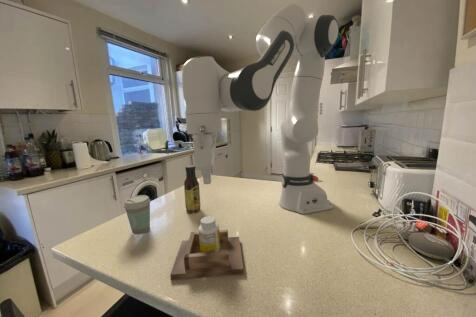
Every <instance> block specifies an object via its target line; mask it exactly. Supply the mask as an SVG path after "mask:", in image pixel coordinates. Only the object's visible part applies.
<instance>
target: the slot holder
mask: <svg viewBox="0 0 476 317" xmlns="http://www.w3.org/2000/svg"><path fill="white" fill-rule="evenodd" d="M219 239H220V252H208V253H201V252H200V242H199V231H192V232H190V234H189V238H188V240H181V242H180V245H179V248H178V252H177V255H176V258H175V259H174V263H173V266H172V269H171V271H170V274H169V275H170V276H169V277H170V281H175V280H186V279H187V280H188V279H199V278H209V277H210V278H211V277H222V276H235V275H236V276H237V275H244V265H243V264H244V263H243V257H242V249H241V241H240V240H241V239H240V236H230V237H229V230H228V229H219Z"/></svg>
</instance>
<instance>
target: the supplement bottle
mask: <svg viewBox="0 0 476 317" xmlns="http://www.w3.org/2000/svg"><path fill="white" fill-rule="evenodd" d="M219 230H220V227H219V225H218V224H217V222H216V218H215V217H214V216H209V215H208V216H204V217H202V218H201V219H200V225H199V226H198V231H197V232H199V242H200V252H201V253H208V252H220V239H219Z"/></svg>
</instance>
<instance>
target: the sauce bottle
mask: <svg viewBox="0 0 476 317" xmlns="http://www.w3.org/2000/svg"><path fill="white" fill-rule="evenodd" d="M184 170H185V174H186V175H185V177H186V178H185V179H184V182H183V185H184V188H183V190H184V201H185V202H184V203H185V209H186V210H185V211H186V213H187V214H190V215H191V214H198V213H199V212H200V211H201V193H200V183H199V181H198V178H197V175H196V166H195V165H193V164H191V165H186V166H185V168H184Z"/></svg>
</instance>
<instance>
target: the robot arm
mask: <svg viewBox="0 0 476 317" xmlns="http://www.w3.org/2000/svg"><path fill="white" fill-rule="evenodd" d="M338 37H339V22H338V20H337V19H336V17H335V15H332V14H321V15H320V16H313V17H307V15H306V13H305V11H304V9H303V8H302V7H301V6H300V5H299V4H296V3H290V4H287V5H285V6H283V7H281V8H280V9H278V10H277V11H276V12H275V13H274V14H273V15H272V16H271V17H270V18H269V19H268V20H267V21H266V22H265V23H264V24H263V26H261V28H260V30H259V31H258V33H257V35H256V38H255V46H256V50H257V52H258V54H259V56H260V58H259V59H258V60H257V61H256V62H254V63H250V64H249V65H245V66H244V67H242V68H240V69H238V70H236V71H233V72H229V71H227V70H226V69H224V68H223V67H222V66H221V65H219V64H218V63H217V62H216V60H215V58H214V57H213V56H210V55H198V56H196V57H191V58H190V59H188V60H187V61H186V62H184V64H183V66H182V71H181V72H182V73H181V74H182V75H181V80H182V83H181V84H182V85H181V86H182V95H183V96H182V97H183V99H184V101H185V112H184V113H185V114H184V115H185V116H184V117H185V122H186V123H185V124H186V132H187V134H189V135H192V140H193V152H194V153H193V154H194V166H195V170H198V171H200V172H201V176H202V179H203V180H202V181H203V184H204V185H210V184H211V183H212V174H213V173H214V160H215V158H216V157H215V156H216V152H217V139H218V137H219V135H218V133H221V132H222V131H223V127H222V126H223V125H222V112H226V113H227V112H228V113H230V112H241V111H242V112H243V111H250V112H251V111H252V112H256V111H260V110H262V109H264V108H265V107H266V106H267V105H268V103H269V102H270V100H271V97H272V96H273V93H274V92H273V91H274V88H275V85H276V83H277V81H278V79H279V77H280V76H281V74H282V72H283V70H284V68H285V67H286V65H287V63H288V62H289V60H290V58H291V57H298V61H297V64H296V66H295V67H296V68H295V69H294V74H293V79H292V84H291V88H290V94H289V98H288V99H289V111H288V116H287V117H286V118H284V120H283V121H282V123H281V124H280V136H281V148H282V160H283V161H282V163H283V165H282V168H283V169H282V174H281V186H282V189H281V194H280V199H279V202H278V205H279V206H280V207H281V208H282V209H285V210H288V211H292V212H296V213H299V214H302V215H306V214H310V213H311V214H312V213H317V212H323V211H324V212H325V211H328V210H334V204H333V203H332V201H330V200H329V198H328V195H327V192H326V190H324V188H322V187H321V186H320V185H318V184H316V183H315V182H318V181H319V177H318V176H316V175H314V176H313V175H312V174H310V172H311V170H310V169H311V155H310V152H309V147H308V143H310V142H312V141H313V140H314V139H316V137H317V136H318V134H319V124H318V105H319V104H318V103H319V97H320V93H321V88H322V83H323V80H324V74H325V73H324V72H325V67H326V66H325V63H326V62H325V61H326V60H325V59H326V56H327V55H328V54H329V52H330V51H331V50H332V49H333V47H334V45H336V42H337V40H338ZM221 111H222V112H221Z"/></svg>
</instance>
